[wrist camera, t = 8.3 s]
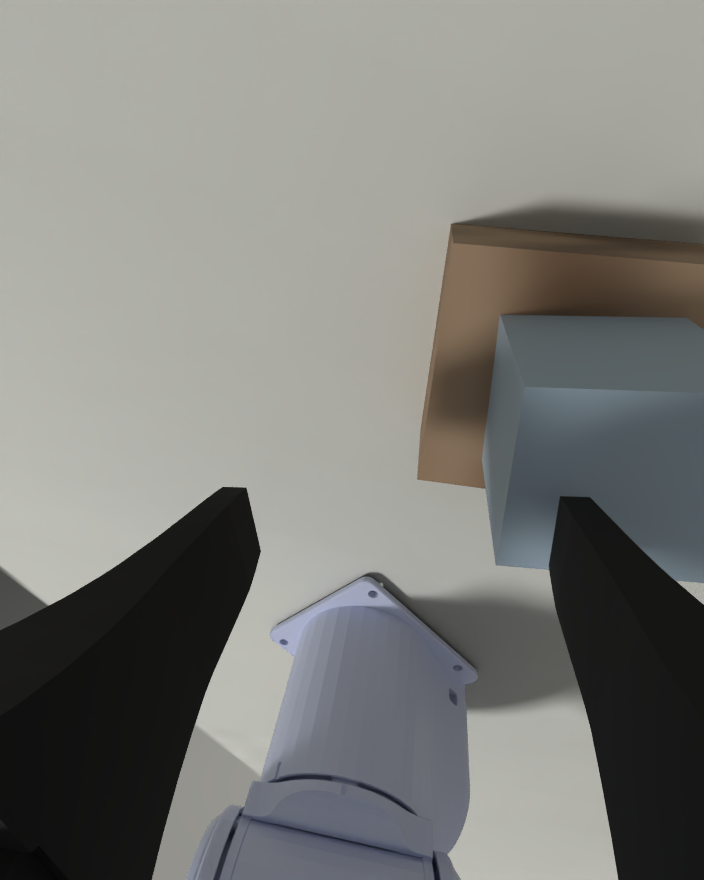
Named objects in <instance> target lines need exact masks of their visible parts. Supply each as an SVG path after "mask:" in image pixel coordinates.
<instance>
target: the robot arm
mask: <svg viewBox="0 0 704 880" xmlns="http://www.w3.org/2000/svg"><path fill="white" fill-rule="evenodd" d="M260 552H261V550H260V546H259V541H258V537H257V533H256V528H255V524H254V519H253V515H252V511H251V506H250V502H249V497H248V493H247V489H246V488H238V487H222V488H221V489H219V490H218V491H216V492H215V493H214V494H212V495H211V496H210V497H208V498H207V499H206V500H204V501H203V502H202V503H201V504H199V505H198V506H197V507H195V508H194V509H193V510H192V511H190V512H189V513H188V514H187V515H185V516H184V517H183V518H181V519H180V520H179V521H178V522H176V523H175V524H174V525H172V526H171V527H170V528H168V529H167V530H166V531H165V532H163V533H162V534H161V535H159V536H158V537H157V538H155V539H154V540H153V541H151V542H150V543H148V544H147V545H145V546H144V547H143V548H141V549H140V550H138V551H137V552H136V553H134V554H133V555H131V556H130V557H129V558H127V559H126V560H124V561H123V562H122V563H120V564H119V565H117V566H116V567H114V568H113V569H111V570H110V571H108V572H106V573H105V574H103V575H102V576H100V577H99V578H97V579H95V580H94V581H92V582H90V583H89V584H87V585H85V586H84V587H82V588H80V589H79V590H77V591H75V592H74V593H72V594H70V595H68V596H66V597H65V598H63V599H61V600H59V601H57V602H55V603H53V604H51V605H49V606H48V607H46V608H44V609H42V610H40V611H38V612H36V613H35V614H32V615H31V616H29V617H27V618H25V619H23V620H21V621H19V622H17V623H15V624H13V625H11V626H8V627H6V628H4V629H2V630H0V880H152V875H153V872H154V867H155V864H156V860H157V855H158V852H159V848H160V844H161V840H162V836H163V832H164V828H165V825H166V821H167V817H168V814H169V810H170V806H171V803H172V799H173V796H174V792H175V788H176V784H177V781H178V778H179V774H180V771H181V768H182V764H183V761H184V758H185V754H186V751H187V748H188V745H189V741H190V738H191V735H192V731H193V728H194V726H195V723H196V719H197V716H198V713H199V710H200V707H201V704H202V701H203V698H204V695H205V692H206V690H207V687H208V684H209V682H210V679H211V677H212V674H213V672H214V670H215V667H216V665H217V663H218V661H219V658H220V656H221V654H222V652H223V649H224V647H225V645H226V643H227V640H228V638H229V636H230V634H231V631H232V629H233V627H234V625H235V622H236V620H237V618H238V615H239V613H240V611H241V609H242V606H243V604H244V602H245V599H246V597H247V595H248V592H249V590H250V587H251V584H252V580H253V577H254V574H255V570H256V567H257V563H258V559H259V556H260ZM549 571H550V577H551V584H552V590H553V596H554V601H555V607H556V611H557V614H558V618H559V621H560V625H561V628H562V631H563V635H564V638H565V642H566V645H567V648H568V652H569V655H570V658H571V661H572V665H573V668H574V671H575V675H576V678H577V681H578V685H579V688H580V691H581V695H582V698H583V701H584V705H585V708H586V712H587V716H588V720H589V724H590V728H591V732H592V737H593V742H594V747H595V752H596V757H597V762H598V767H599V772H600V777H601V782H602V788H603V793H604V799H605V804H606V810H607V815H608V821H609V826H610V832H611V837H612V843H613V849H614V855H615V861H616V867H617V874H618V880H704V605H703V604H702V603H701V602H700V601H698V600H697V599H696V598H695V597H694V596H693V595H691V594H690V593H689V592H688V591H687V590H686V589H684V588H683V587H682V586H681V585H680V584H679V583H677V582H676V581H675V580H674V579H673V578H672V577H671V576H669V575H668V574H667V573H666V572H665V571H664V570H663V569H662V568H661V567H660V566H658V565H657V564H656V563H655V562H654V561H653V560H652V559H651V558H650V557H649V556H648V555H647V554H646V553H645V552H644V551H643V550H642V549H641V548H640V547H639V546H638V545H637V544H636V543H635V542H634V541H633V540H632V539H631V538H630V537H629V536H628V535H627V534H626V533H625V532H624V531H623V530H622V529H621V528H620V527H619V526H618V525H617V524H616V523H615V522H614V521H613V520H612V519H611V518H610V517H609V516H608V515H607V514H606V513H605V512H604V511H603V510H602V509H601V508H600V507H599V506H598V505H597V504H596V503H595V502H594V501H593V500H592V499H591V498H590V497H572V496H560V499H559V506H558V512H557V518H556V524H555V530H554V536H553V542H552V548H551V554H550V560H549ZM372 591H375V592H372ZM269 636H270V638H271V639H272V640H273V641H274V642H276V643H277V644H278V645H279V646H281V647H282V648H283V649H285V650H286V651H287V652H289V653H290V654H291V655H292V656H294V661H293V665H292V668H291V672H290V675H289V679H288V682H287V686H286V689H285V693H284V697H283V700H282V704H281V707H280V711H279V714H278V718H277V721H276V725H275V729H274V732H273V736H272V739H271V743H270V746H269V750H268V754H267V757H266V761H265V764H264V768H263V771H262V775H261V778H260V782H259V781H252V783H251V786H250V789H249V793H248V796H247V800H246V803H245V806H244V807H241V806H237V805H229V806H228V807H227V808H226V809H225V810H224V811H223V813H221V814H220V815H219V816H217V817H216V818H215V819H214V820H213V821H212V822H211V823H210V824H209V826H208V827H207V829H206V831H205V833H204V835H203V837H202V839H201V841H200V843H199V846H198V848H197V850H196V853H195V855H194V858H193V860H192V863H191V866H190V868H189V871H188V874H187V877H186V880H461V879H460V877H459V876H458V874H457V872H456V871H455V869H454V867H453V865H452V862H451V860H450V858H449V857H448V855H447V854H448V853H449V852H450V851H451V850H452V848H453V847H454V845H455V844H456V842H457V840H458V838H459V836H460V834H461V831H462V829H463V826H464V823H465V820H466V816H467V812H468V807H469V799H470V778H469V756H468V734H467V712H466V690H465V685H468V684H470V683H473V682H475V681H477V679H478V674H477V670H476V669H475V668H474V667H473V666H471V665H470V664H469V663H468V662H467V661H466V660H465V659H464V658H462V657H461V656H460V655H459V654H458V653H457V652H456V651H454V650H453V649H452V648H451V647H450V646H449V645H448V644H447V643H445V642H444V641H443V640H442V639H441V638H440V637H439V636H438V635H436V634H435V633H434V632H433V631H432V630H431V629H430V628H429V627H427V626H426V625H425V624H424V623H423V622H422V621H421V620H419V619H418V618H417V617H416V616H415V615H414V614H413V613H412V612H410V611H409V610H408V609H407V608H406V607H405V606H404V605H403V604H401V603H400V602H399V601H398V600H397V599H396V598H395V597H394V596H392V595H391V594H390V593H389V592H388V591H387V590H386V589H384V588H383V587H382V586H381V585H380V584H379V583H378V582H377V581H375V580H374V579H373V578H371V577H362V578H360V579H358V580H356V581H354V582H352V583H351V584H349V585H347V586H345V587H344V588H342V589H340V590H338V591H337V592H335V593H333V594H331V595H329V596H328V597H326V598H324V599H322V600H321V601H319V602H317V603H315V604H314V605H312V606H310V607H308V608H306V609H305V610H303V611H301V612H299V613H298V614H296V615H294V616H292V617H291V618H289V619H287V620H285V621H283V622H282V623H280V624H278V625H276V626H275V627H273V628H272V629H271V631H270V635H269Z"/></svg>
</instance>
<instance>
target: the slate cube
mask: <svg viewBox="0 0 704 880" xmlns="http://www.w3.org/2000/svg"><path fill="white" fill-rule="evenodd" d="M482 464H483V472H484V480H485V487H486V495H487V502H488V510H489V517H490V525H491V533H492V540H493V548H494V555H495V563H496V565H500V566H511V567H523V568H535V569H546V570H549V560H550V554H551V548H552V542H553V536H554V530H555V524H556V518H557V512H558V506H559V499H560V496H572V497H590V498H591V499H592V500H593V501H594V502H595V503H596V504H597V505H598V506H599V507H600V508H601V509H602V510H603V511H604V512H605V513H606V514H607V515H608V516H609V517H610V518H611V519H612V520H613V521H614V522H615V523H616V524H617V525H618V526H619V527H620V528H621V529H622V530H623V531H624V532H625V533H626V534H627V535H628V536H629V537H630V538H631V539H632V540H633V541H634V542H635V543H636V544H637V545H638V546H639V547H640V548H641V549H642V550H643V551H644V552H645V553H646V554H647V555H648V556H649V557H650V558H651V559H652V560H653V561H654V562H655V563H656V564H657V565H658V566H660V567H661V568H662V569H663V570H664V571H665V572H666V573H667V574H668V575H669V576H671V577H672V578H673V579H674V580H675V581H687V582H698V583H704V329H702V328H701V327H699V326H698V325H697V324H695V323H694V322H692V321H691V320H690V319H688V318H671V317H609V316H546V315H500V318H499V326H498V334H497V342H496V350H495V358H494V366H493V374H492V382H491V390H490V398H489V406H488V414H487V422H486V430H485V438H484V446H483V454H482Z"/></svg>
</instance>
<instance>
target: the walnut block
mask: <svg viewBox="0 0 704 880" xmlns="http://www.w3.org/2000/svg"><path fill="white" fill-rule="evenodd" d="M500 315H546V316H609V317H671V318H688V319H690V320H691V321H692V322H694V323H695V324H697V325H698V326H699V327H701V328H702V329H704V245H703V244H693V243H680V242H668V241H656V240H644V239H632V238H619V237H607V236H595V235H583V234H570V233H558V232H546V231H534V230H521V229H509V228H497V227H485V226H473V225H460V224H451V228H450V234H449V241H448V248H447V255H446V261H445V268H444V275H443V282H442V288H441V295H440V302H439V309H438V315H437V322H436V329H435V336H434V342H433V349H432V356H431V363H430V370H429V376H428V383H427V390H426V397H425V403H424V410H423V417H422V424H421V432H420V447H419V462H418V477H417V480H425V481H432V482H440V483H447V484H455V485H462V486H470V487H477V488H485V489H486V487H485V480H484V472H483V464H482V454H483V446H484V438H485V430H486V422H487V414H488V406H489V398H490V390H491V382H492V374H493V366H494V358H495V350H496V342H497V334H498V326H499V318H500Z"/></svg>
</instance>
